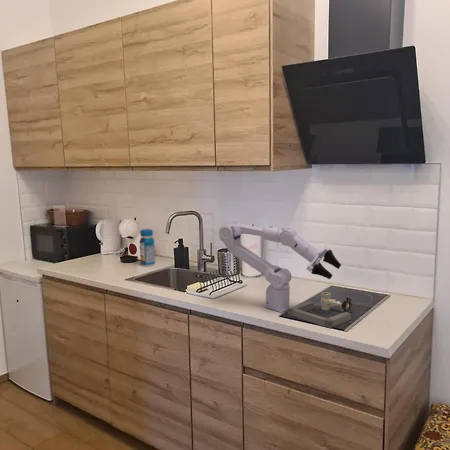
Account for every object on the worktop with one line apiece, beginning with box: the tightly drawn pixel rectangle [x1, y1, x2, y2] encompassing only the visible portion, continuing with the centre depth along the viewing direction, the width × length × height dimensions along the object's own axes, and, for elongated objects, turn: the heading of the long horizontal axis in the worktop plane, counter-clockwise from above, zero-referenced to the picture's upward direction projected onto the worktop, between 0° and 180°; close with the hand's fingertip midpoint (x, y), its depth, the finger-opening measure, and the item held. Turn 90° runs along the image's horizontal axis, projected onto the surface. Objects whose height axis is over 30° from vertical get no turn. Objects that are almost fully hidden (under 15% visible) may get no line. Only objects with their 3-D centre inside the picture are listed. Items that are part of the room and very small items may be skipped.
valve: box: [320, 291, 353, 313], centre depth 188 cm, size 7×7×12 cm
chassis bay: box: [287, 300, 352, 329], centre depth 181 cm, size 20×13×2 cm, turn 41°
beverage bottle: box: [139, 228, 156, 267], centre depth 268 cm, size 8×8×20 cm
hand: (335, 272), depth 180 cm, fingers open, 7 cm apart
